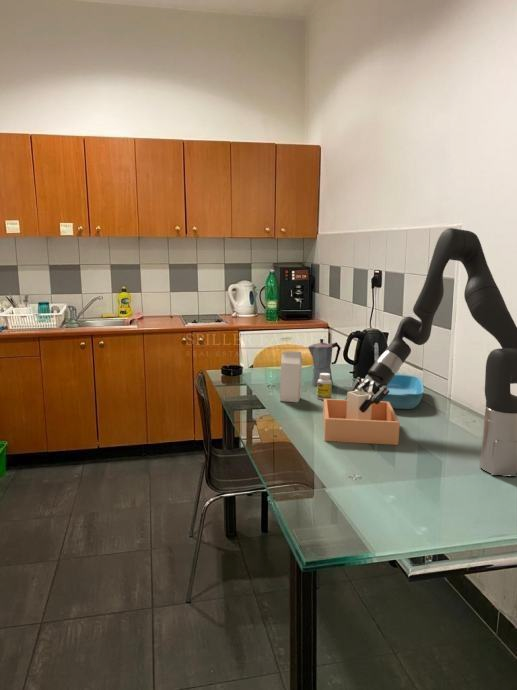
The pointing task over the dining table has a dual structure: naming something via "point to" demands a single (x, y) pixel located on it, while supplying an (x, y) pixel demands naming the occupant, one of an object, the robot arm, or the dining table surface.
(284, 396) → the milk carton
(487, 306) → the robot arm
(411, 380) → the casserole dish
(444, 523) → the dining table surface
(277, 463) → the dining table surface
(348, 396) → the small crate
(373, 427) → the large crate
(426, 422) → the dining table surface
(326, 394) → the supplement bottle
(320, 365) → the moka pot
